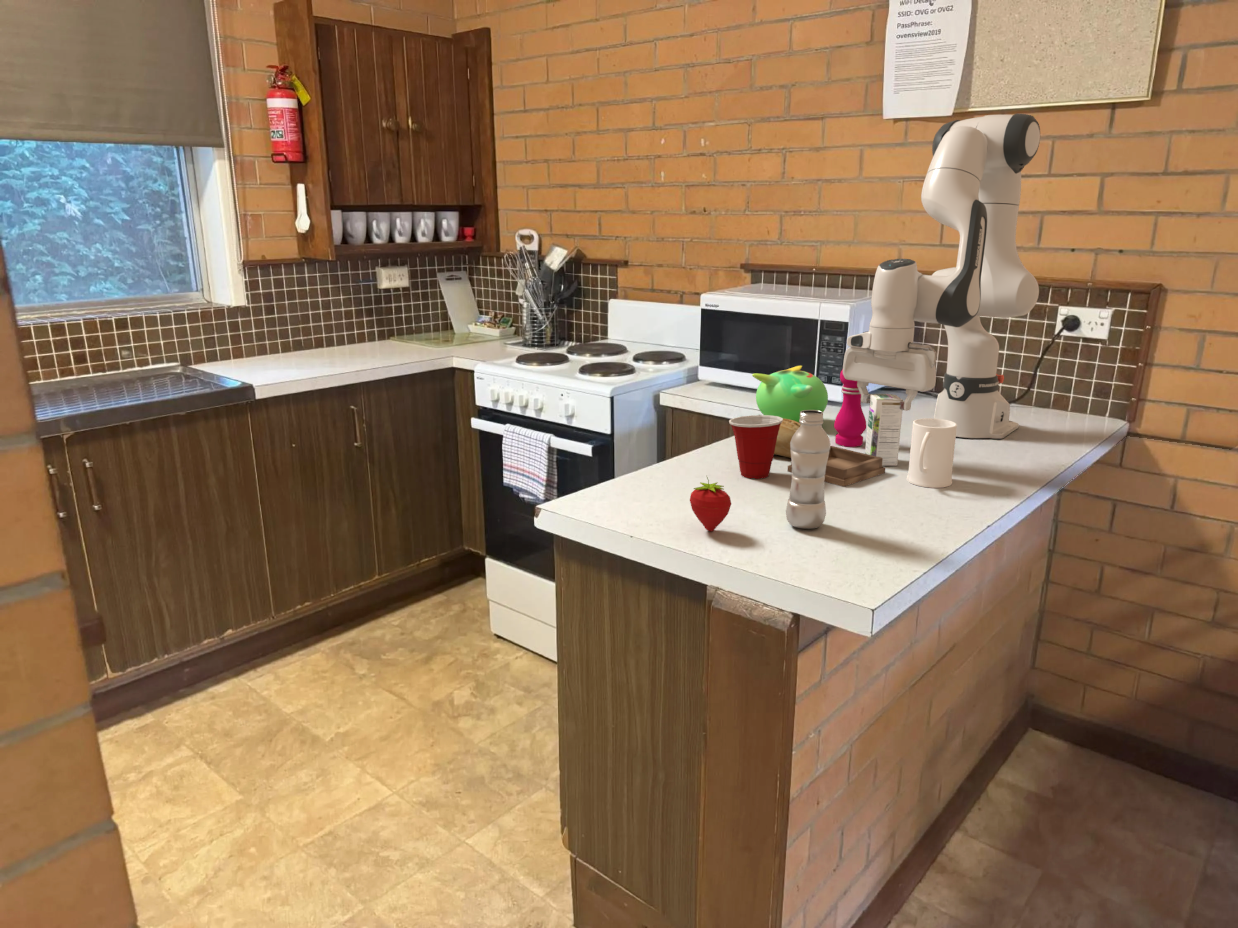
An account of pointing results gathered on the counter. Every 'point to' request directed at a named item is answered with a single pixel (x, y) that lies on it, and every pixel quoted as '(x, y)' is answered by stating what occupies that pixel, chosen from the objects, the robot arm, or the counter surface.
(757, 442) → the plastic cup
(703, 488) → the strawberry
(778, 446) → the bread roll
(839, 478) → the walnut stand
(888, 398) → the syrup box
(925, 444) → the mug
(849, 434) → the pepper mill
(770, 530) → the counter surface
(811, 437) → the plastic bottle
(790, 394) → the toy bird
